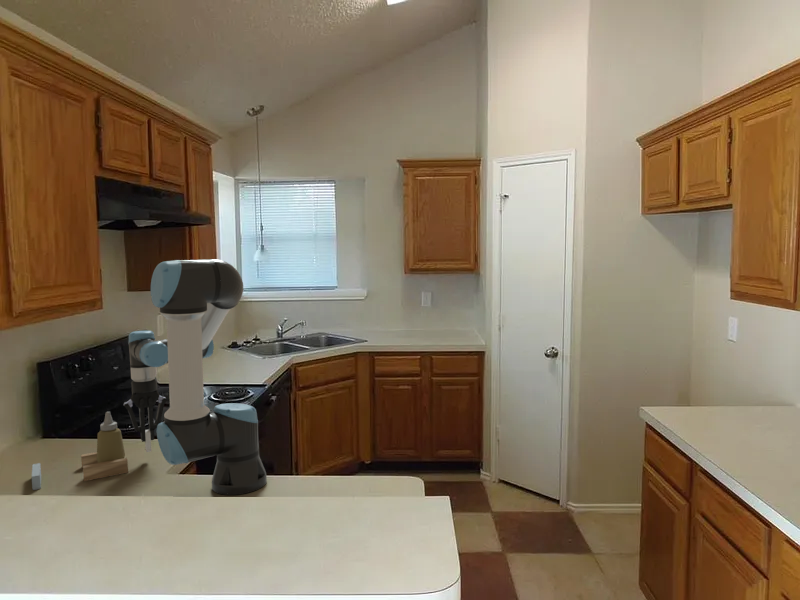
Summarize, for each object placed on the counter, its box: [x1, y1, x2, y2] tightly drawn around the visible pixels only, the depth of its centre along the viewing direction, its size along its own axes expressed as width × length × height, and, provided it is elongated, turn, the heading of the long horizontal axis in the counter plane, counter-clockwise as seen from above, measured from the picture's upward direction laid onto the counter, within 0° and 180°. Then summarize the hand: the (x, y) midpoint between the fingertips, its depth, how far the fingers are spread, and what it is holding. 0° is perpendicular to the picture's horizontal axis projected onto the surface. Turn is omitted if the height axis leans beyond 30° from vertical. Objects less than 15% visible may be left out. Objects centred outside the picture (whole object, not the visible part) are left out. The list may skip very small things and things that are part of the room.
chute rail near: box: [82, 457, 129, 482], centre depth 177 cm, size 2×12×4 cm, turn 121°
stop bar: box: [31, 462, 42, 491], centre depth 173 cm, size 12×2×4 cm, turn 31°
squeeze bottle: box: [96, 411, 126, 463], centre depth 183 cm, size 8×8×18 cm
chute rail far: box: [80, 451, 98, 470], centre depth 187 cm, size 2×12×4 cm, turn 121°
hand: (148, 450), depth 189 cm, fingers closed
